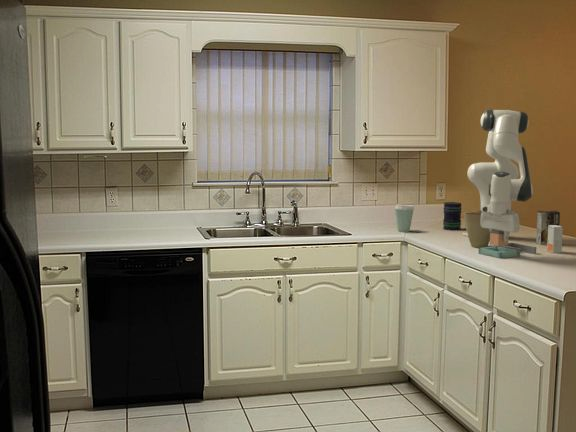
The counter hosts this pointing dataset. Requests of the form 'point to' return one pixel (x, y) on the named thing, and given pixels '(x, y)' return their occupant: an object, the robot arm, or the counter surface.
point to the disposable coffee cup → (404, 217)
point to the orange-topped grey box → (497, 238)
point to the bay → (520, 248)
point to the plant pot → (476, 230)
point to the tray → (498, 252)
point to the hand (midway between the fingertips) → (499, 240)
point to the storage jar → (452, 216)
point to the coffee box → (546, 224)
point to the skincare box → (554, 239)
